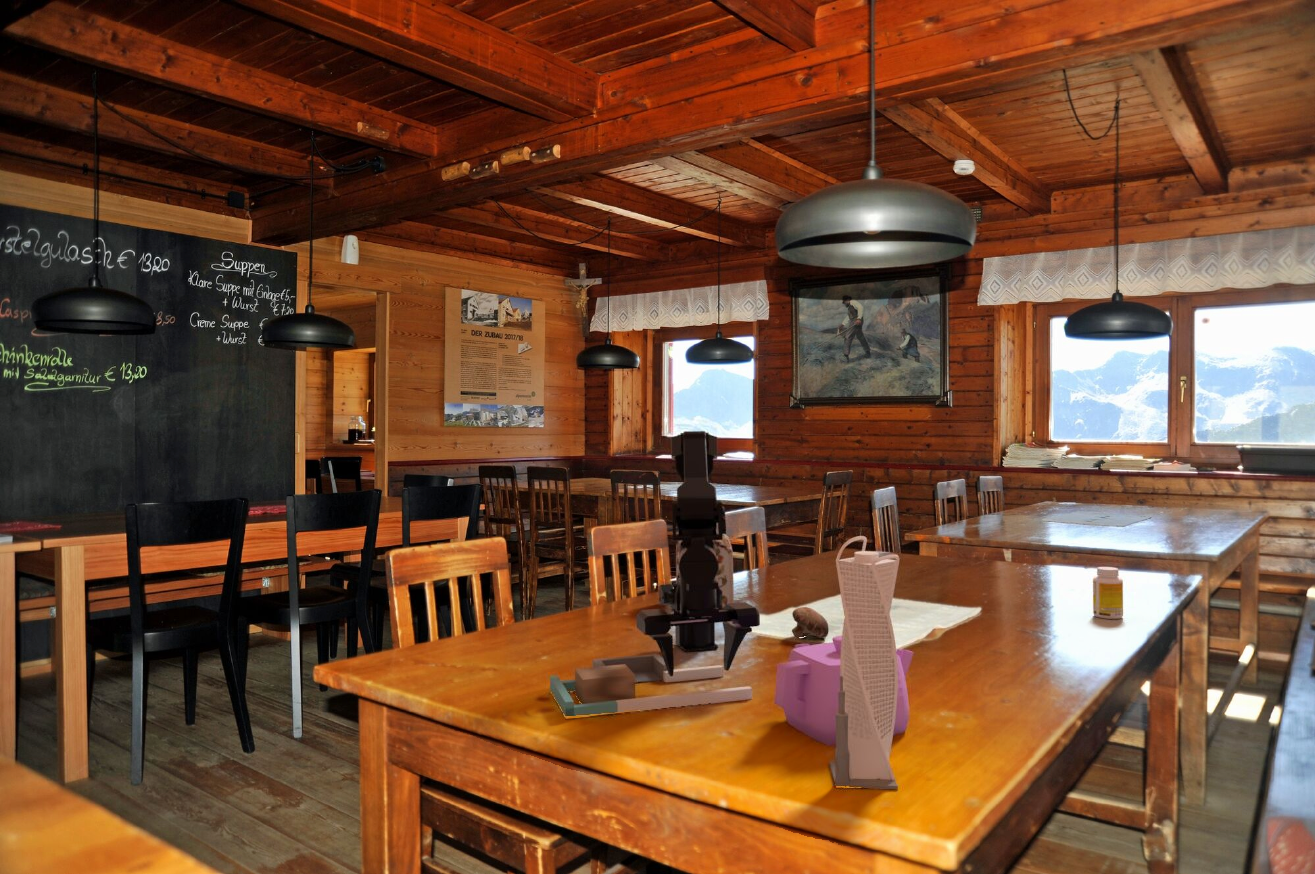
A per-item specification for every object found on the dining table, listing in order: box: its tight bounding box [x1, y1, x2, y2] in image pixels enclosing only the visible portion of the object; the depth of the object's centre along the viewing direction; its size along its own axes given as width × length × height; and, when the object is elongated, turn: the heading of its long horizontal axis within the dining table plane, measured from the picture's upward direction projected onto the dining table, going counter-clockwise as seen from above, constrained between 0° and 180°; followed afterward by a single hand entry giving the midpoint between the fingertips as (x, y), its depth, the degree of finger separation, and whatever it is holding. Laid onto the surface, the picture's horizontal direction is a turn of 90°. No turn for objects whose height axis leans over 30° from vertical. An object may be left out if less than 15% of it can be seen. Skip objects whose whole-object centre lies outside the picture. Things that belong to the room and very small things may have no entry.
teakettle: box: [774, 635, 914, 747], centre depth 120 cm, size 17×17×12 cm
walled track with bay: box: [549, 653, 753, 716], centre depth 138 cm, size 29×21×2 cm
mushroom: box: [791, 606, 829, 639], centre depth 169 cm, size 8×8×6 cm
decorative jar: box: [675, 534, 735, 610], centre depth 201 cm, size 12×12×18 cm
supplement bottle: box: [1092, 566, 1124, 620], centre depth 183 cm, size 6×6×10 cm
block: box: [574, 664, 636, 704], centre depth 133 cm, size 8×6×4 cm
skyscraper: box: [828, 535, 900, 790], centre depth 104 cm, size 8×8×28 cm
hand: (698, 672), depth 137 cm, fingers open, 9 cm apart
